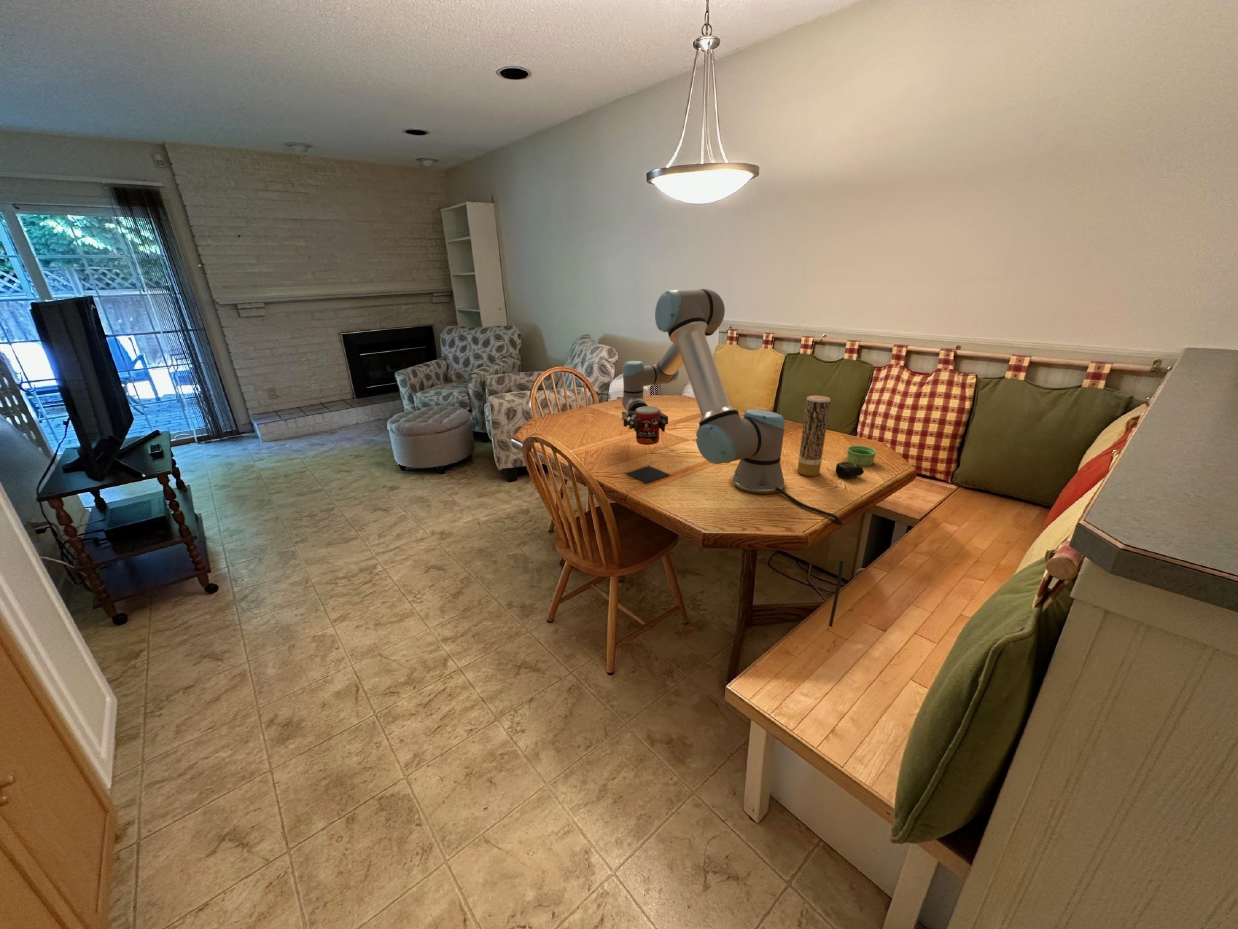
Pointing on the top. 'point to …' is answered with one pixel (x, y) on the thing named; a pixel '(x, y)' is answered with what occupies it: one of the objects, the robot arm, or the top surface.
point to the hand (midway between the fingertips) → (650, 428)
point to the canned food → (648, 425)
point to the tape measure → (848, 469)
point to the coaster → (647, 474)
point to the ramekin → (860, 455)
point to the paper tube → (813, 435)
